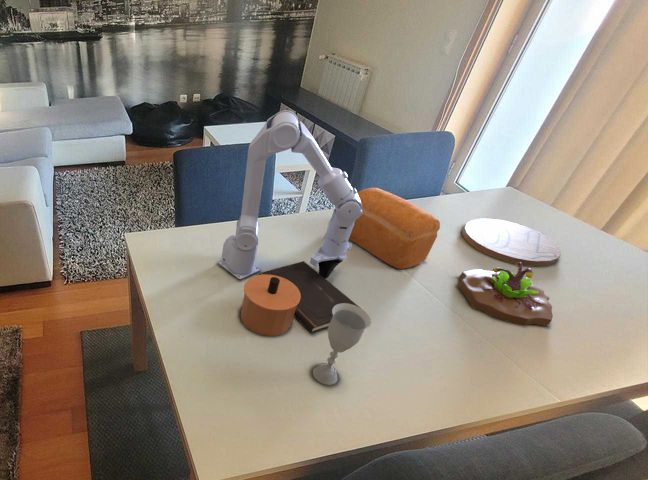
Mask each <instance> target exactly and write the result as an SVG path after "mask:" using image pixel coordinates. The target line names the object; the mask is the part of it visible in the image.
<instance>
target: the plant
mask: <svg viewBox="0 0 648 480" xmlns="http://www.w3.org/2000/svg"><path fill="white" fill-rule="evenodd" d="M515 267H516V268H518V269H517V273H514V272H512V271H510V270H509V269H507V268H503V267H494V268H492V270H483V269H469V270H467V271H462V272H461V273H460V275H459V277H458V279H459V280H460V282H459V284H458V288H459V290H460V291H461V293H462V294H463V295H464V296H465V298H466V299H467V301H468V302H469V305H471V307H472V308H474V309H475V310H478V311H480V312H483V313H486V314H488V315H489V316H491V317H493V318H495V319H499V320H500V321H501V320H502V321H504V322H505V321H506V322H509V323H513V324H518V325H522V326H524V325H529V324H531V325H538V326H542V327H548V325H550V323H551V322H552V320H553V310H552V309H553V306H552V304H551V303H550V302H549V300H550V297H549V296H547V295H546V294H545V291H544V290H543V289H542V288H540V287H538V286H536V285H534V284H533V282H532V279H531V278H533V277H534V271H533V270H532V269H531V268H528V267H527V268H525V269H524V270H523V267H524V265H522V263H521V262H518V263H517V264H515ZM524 276H525V277H524Z"/></svg>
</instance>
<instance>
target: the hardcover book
mask: <svg viewBox="0 0 648 480" xmlns="http://www.w3.org/2000/svg"><path fill="white" fill-rule="evenodd" d="M257 275H275V276H279V277H282V278H285V279H287V280H289V281H290V282H292V283H293V284H294V285H295V286H296V287H297V288H298V289H299V291H300V294H301V299H300V302H299V304H298V305H297V307H296V310H295V313H294V317H295V319H297V320H298V321H299V323H301V325H303V326H304V328H305V329H307V331H309V333H310V334H315V333H317V332H321V331H323V330H326V329H328V327H329V324H330V322H331V319H332V317H333V313H332V309H333V308H334V306H335V305H337V304H341V303H348V304H352V305H355V306H357V307H359V308H361V307H360V306H359V305H358V304H357V303H355V302H354V301H353V300H352V299H351V298H350V297H348V296H347V295H345V293H343V291H340V289H338V288H337V287H336V286H335V285H333V284H332V283H331V282H330V281H329V280H327V279H325V278H324V277H323V276H321V275H320V274H319V271H316V270H315V269H314V268H313V267H312V266H311V265H309V264H308V263H307V262H306V261H305V260H302V261H298V262H295V263H292V264H288V265H283V266H281V267H277V268H273V269H269V270H266V271H262V272H258V274H257ZM361 309H362V310H364V309H363V308H361Z"/></svg>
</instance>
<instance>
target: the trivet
mask: <svg viewBox="0 0 648 480" xmlns="http://www.w3.org/2000/svg"><path fill="white" fill-rule="evenodd" d="M461 234H462V237H463V239H464V240H465V241H466V242H467V243H468V244H469V245H471V246H472V247H473V248H474V249H475V250H478V251H480V252H481V253H483V254H485V255H487V256H490V257H492V258H494V259H497V260H499V261H504V262H507V263H509V264H515V265H516V264H517V263H518V262H521V263H522V266H524V267H525V266H526V267H545V266H546V267H547V266H550V265H553V264H554V263H555V262H556V261H557V260H558V259H559V258H560V256H561V255H562V249H561V247H560V246H559V245H558V244H557V242H555V241H554V240H553V239H552V238H550V237H549V236H547V235H546V234H544V233H542V232H540V231H538V230H535V229H533V228H532V227H528V226H526V225H523V224H519V223H516V222H512V221H509V220H504V219H496V218H476V219H471V220H470V221H467V222H466V224H465V225H464V227H463V229H462V230H461Z"/></svg>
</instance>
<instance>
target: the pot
mask: <svg viewBox="0 0 648 480" xmlns="http://www.w3.org/2000/svg"><path fill="white" fill-rule="evenodd" d="M243 293H244V294H243V298H242V303H241V309H240V319H241V322H242V323H243V324H244V326H245V327H246V328H247V329H249V330H250V331H252V332H254V333H256V334H258V335H261V336H265V337H266V336H267V337H268V336H269V337H275V336H279V335H283V334H284V333H286V332H287V331H289V329H290V327H291V325H292V323H293V320H294V317H295V316H294V313H295V310H296V307H297V306H296V307H294V308H293V309H290V310H287V311H270V310H266V309H263V308H260V307H258V306H256V305H255V304H253V303H252V302H251V301H250V300H249V299H248V298H247V297H246V295H245V292H243Z"/></svg>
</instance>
